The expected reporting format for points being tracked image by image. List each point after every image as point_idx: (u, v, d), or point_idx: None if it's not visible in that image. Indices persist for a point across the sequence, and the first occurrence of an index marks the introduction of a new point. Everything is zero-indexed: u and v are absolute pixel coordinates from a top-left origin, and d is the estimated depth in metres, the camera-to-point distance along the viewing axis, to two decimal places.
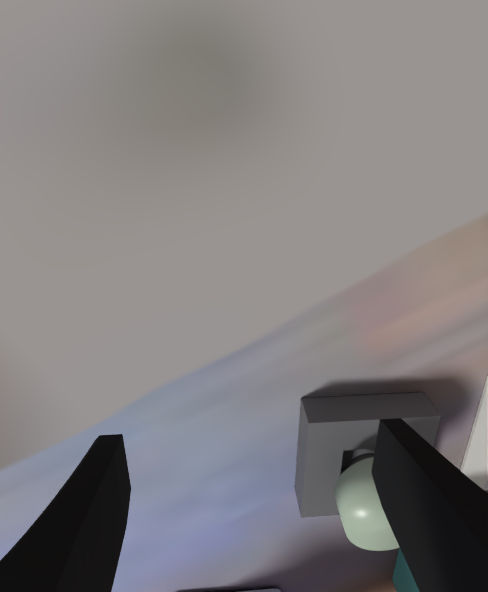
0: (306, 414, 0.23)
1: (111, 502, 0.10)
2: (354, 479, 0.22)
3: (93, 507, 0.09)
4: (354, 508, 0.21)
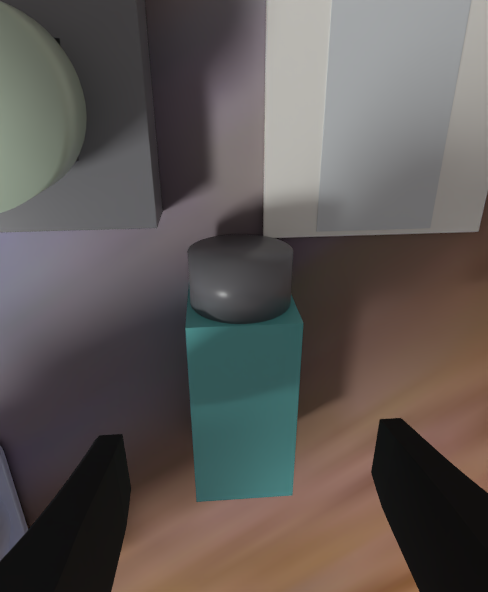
0: None
1: (111, 502, 0.10)
2: None
3: (93, 507, 0.09)
4: None
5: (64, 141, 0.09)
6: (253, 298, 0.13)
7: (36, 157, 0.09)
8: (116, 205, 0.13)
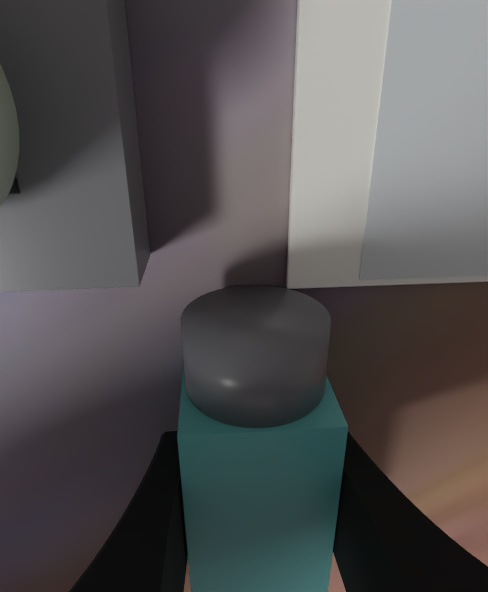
0: None
1: None
2: None
3: (175, 501, 0.09)
4: None
5: None
6: (276, 394, 0.09)
7: None
8: (79, 256, 0.09)
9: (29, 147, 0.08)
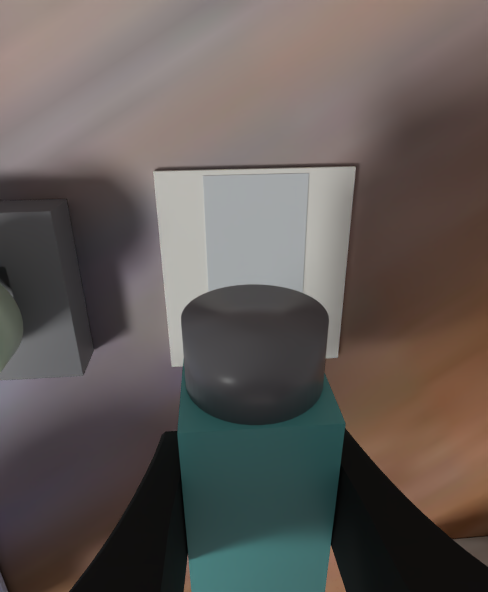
0: None
1: None
2: None
3: (175, 501, 0.09)
4: None
5: (2, 360, 0.14)
6: (275, 391, 0.09)
7: None
8: (52, 362, 0.18)
9: (27, 318, 0.17)
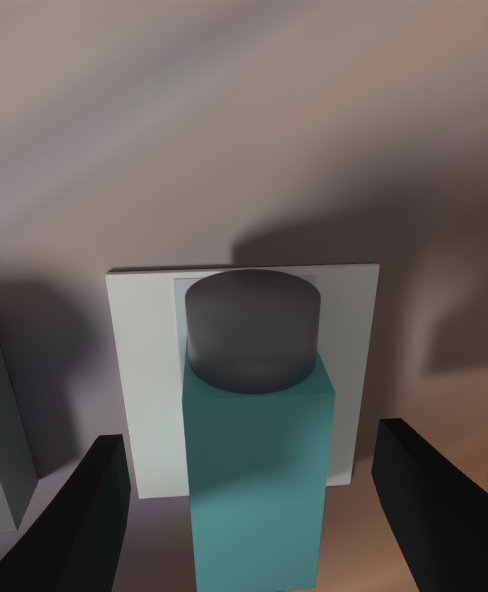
0: None
1: (111, 502, 0.10)
2: None
3: (93, 507, 0.09)
4: None
5: None
6: (271, 362, 0.10)
7: None
8: None
9: None
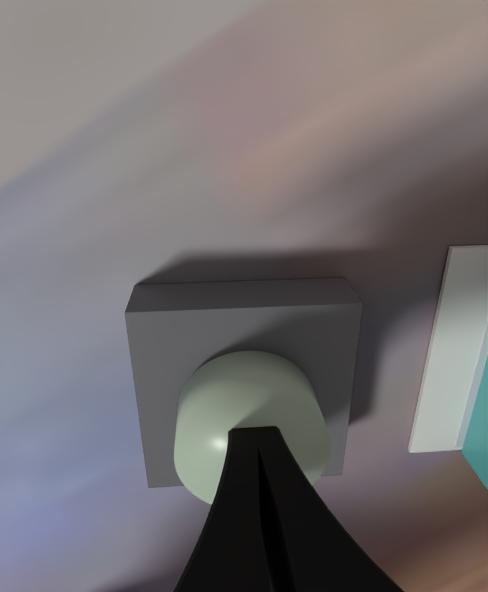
0: (129, 302, 0.13)
1: None
2: (196, 386, 0.13)
3: None
4: (184, 429, 0.12)
5: None
6: None
7: None
8: None
9: None
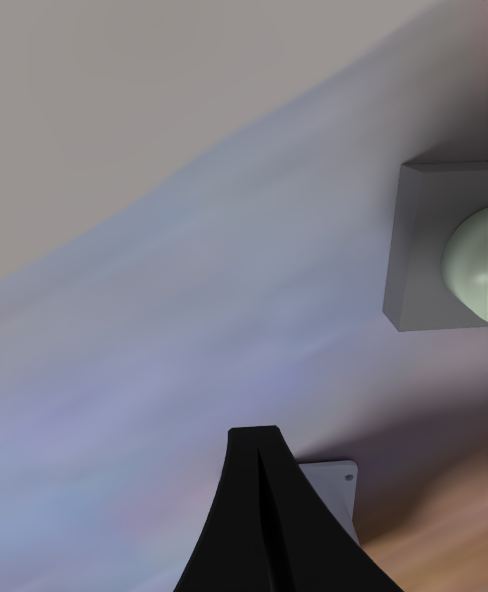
0: (415, 170, 0.17)
1: None
2: (475, 226, 0.17)
3: (258, 495, 0.09)
4: (482, 249, 0.16)
5: None
6: None
7: None
8: None
9: None
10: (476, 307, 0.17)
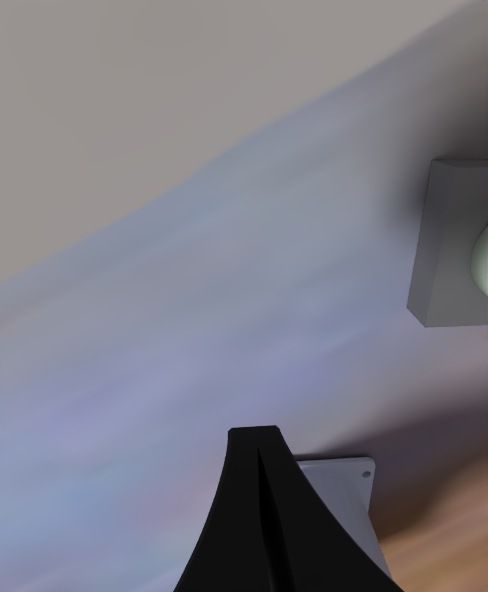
0: (448, 165, 0.17)
1: None
2: None
3: None
4: None
5: None
6: None
7: None
8: None
9: None
10: None
